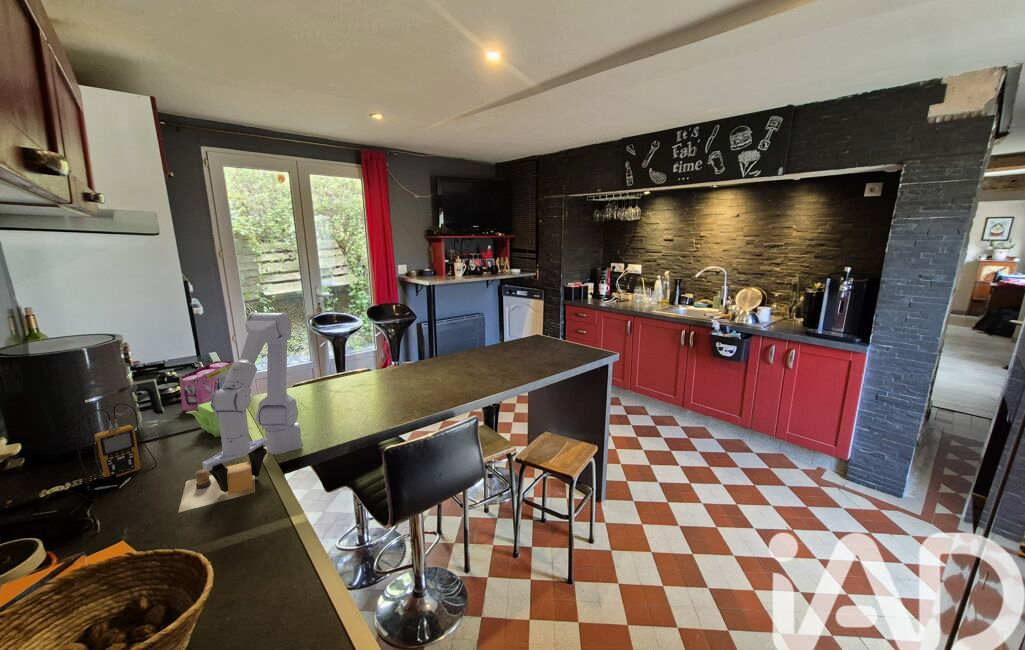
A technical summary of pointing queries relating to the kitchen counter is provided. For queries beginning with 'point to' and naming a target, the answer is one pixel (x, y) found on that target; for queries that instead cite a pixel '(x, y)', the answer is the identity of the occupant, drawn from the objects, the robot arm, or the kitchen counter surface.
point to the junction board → (206, 492)
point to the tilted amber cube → (239, 477)
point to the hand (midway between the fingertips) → (240, 482)
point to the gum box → (203, 384)
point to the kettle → (207, 419)
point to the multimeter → (116, 450)
